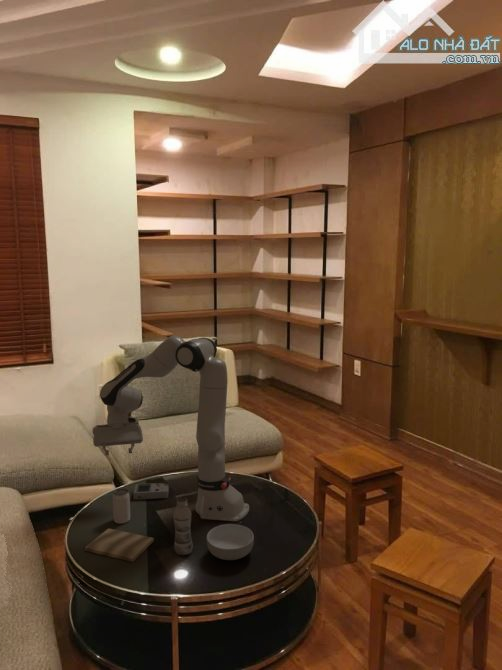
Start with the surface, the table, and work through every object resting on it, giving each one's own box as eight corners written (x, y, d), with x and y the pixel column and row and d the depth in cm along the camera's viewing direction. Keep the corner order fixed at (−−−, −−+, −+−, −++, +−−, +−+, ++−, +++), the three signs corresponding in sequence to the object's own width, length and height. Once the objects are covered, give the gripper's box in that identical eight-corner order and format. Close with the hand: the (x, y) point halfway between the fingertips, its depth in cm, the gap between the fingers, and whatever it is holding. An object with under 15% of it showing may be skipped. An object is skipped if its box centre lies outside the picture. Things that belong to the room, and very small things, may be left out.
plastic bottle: (185, 560, 182) (183, 506, 179) (170, 554, 186) (168, 501, 183) (196, 551, 188) (195, 498, 185) (182, 545, 191) (180, 494, 188)
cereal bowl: (249, 570, 176) (249, 550, 175) (201, 566, 179) (201, 546, 178) (257, 542, 193) (257, 524, 192) (213, 539, 196) (212, 521, 194)
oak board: (153, 540, 195) (153, 537, 194) (132, 561, 182) (132, 558, 181) (108, 531, 202) (108, 528, 201) (85, 550, 189) (84, 547, 188)
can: (133, 517, 212) (132, 489, 210) (124, 525, 206) (123, 496, 204) (119, 515, 214) (118, 487, 212) (110, 522, 208) (109, 494, 206)
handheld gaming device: (167, 499, 228) (167, 491, 227) (133, 500, 227) (133, 492, 226) (169, 490, 237) (168, 482, 236) (136, 491, 235) (135, 483, 235)
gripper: (92, 422, 220) (92, 452, 213) (141, 418, 225) (143, 448, 218) (93, 428, 225) (93, 459, 218) (141, 425, 230) (143, 454, 223)
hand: (118, 453), depth 218 cm, fingers open, 8 cm apart
